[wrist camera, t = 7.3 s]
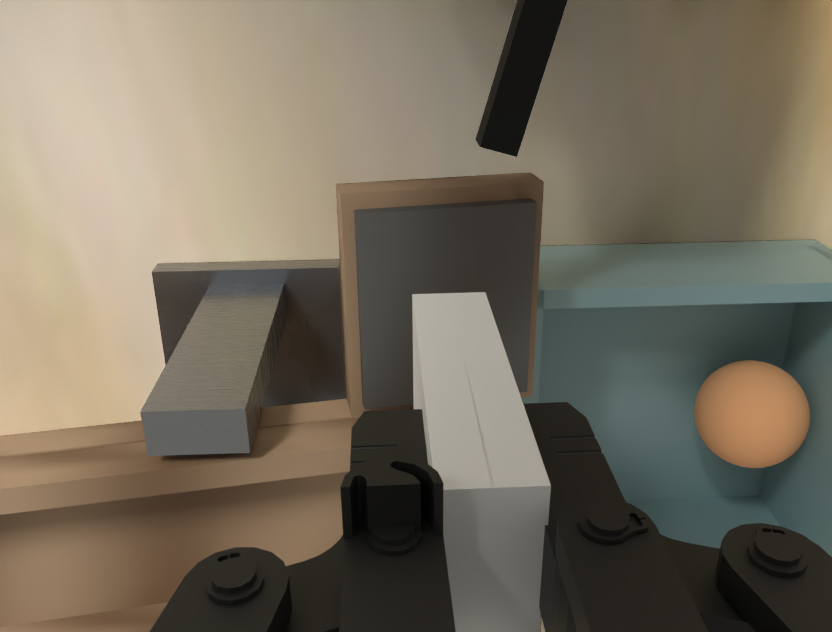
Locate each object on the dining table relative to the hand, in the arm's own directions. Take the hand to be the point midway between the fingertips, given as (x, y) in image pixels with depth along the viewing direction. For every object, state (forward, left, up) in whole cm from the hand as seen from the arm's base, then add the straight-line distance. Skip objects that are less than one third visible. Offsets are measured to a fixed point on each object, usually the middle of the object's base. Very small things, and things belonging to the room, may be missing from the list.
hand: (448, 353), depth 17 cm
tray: (+8, -6, -10) cm, 15 cm away
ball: (+11, -6, -8) cm, 15 cm away
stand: (-6, -6, -10) cm, 14 cm away
